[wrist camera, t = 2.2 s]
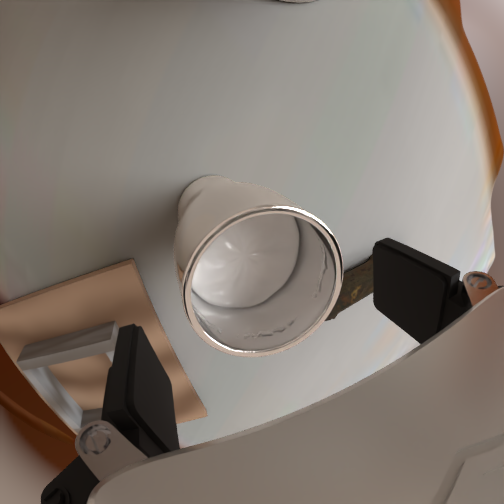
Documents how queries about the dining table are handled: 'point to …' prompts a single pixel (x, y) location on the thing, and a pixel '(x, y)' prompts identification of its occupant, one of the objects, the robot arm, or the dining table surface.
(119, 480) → the robot arm
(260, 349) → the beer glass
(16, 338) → the glass dock
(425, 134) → the dining table surface
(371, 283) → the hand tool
